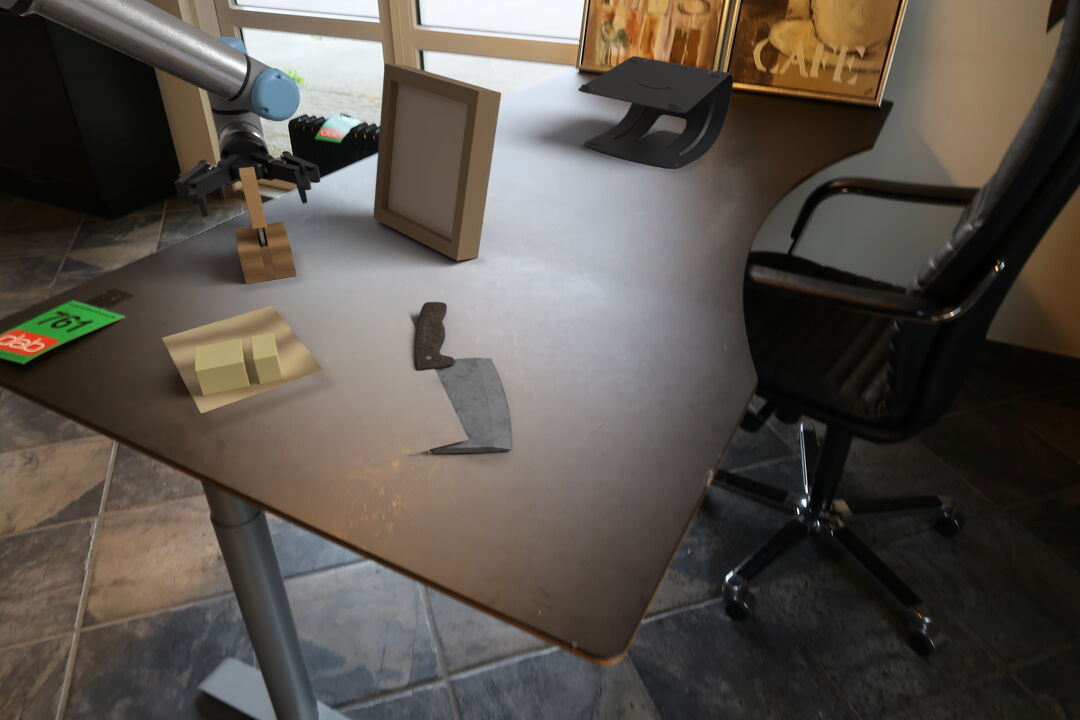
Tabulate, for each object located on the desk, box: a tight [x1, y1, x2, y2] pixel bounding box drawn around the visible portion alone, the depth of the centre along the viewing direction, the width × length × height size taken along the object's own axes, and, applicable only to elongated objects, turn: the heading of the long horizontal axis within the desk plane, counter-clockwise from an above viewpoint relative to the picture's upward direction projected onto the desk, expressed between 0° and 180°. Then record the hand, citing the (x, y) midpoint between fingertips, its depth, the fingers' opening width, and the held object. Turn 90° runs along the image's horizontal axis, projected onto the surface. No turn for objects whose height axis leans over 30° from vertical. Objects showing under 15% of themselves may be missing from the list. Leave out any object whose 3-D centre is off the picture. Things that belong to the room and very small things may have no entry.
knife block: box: [234, 221, 297, 285], centre depth 105 cm, size 9×7×5 cm
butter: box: [195, 339, 250, 396], centre depth 80 cm, size 5×5×4 cm
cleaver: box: [414, 301, 513, 454], centre depth 84 cm, size 29×10×2 cm, turn 13°
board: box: [161, 305, 324, 414], centre depth 86 cm, size 18×14×2 cm
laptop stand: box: [578, 55, 734, 169], centre depth 151 cm, size 26×24×16 cm
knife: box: [239, 167, 268, 247], centre depth 102 cm, size 6×2×15 cm, turn 22°
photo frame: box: [372, 62, 502, 262], centre depth 111 cm, size 15×22×25 cm
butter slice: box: [251, 333, 283, 384], centre depth 82 cm, size 5×2×4 cm, turn 22°
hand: (254, 201), depth 100 cm, fingers open, 13 cm apart
